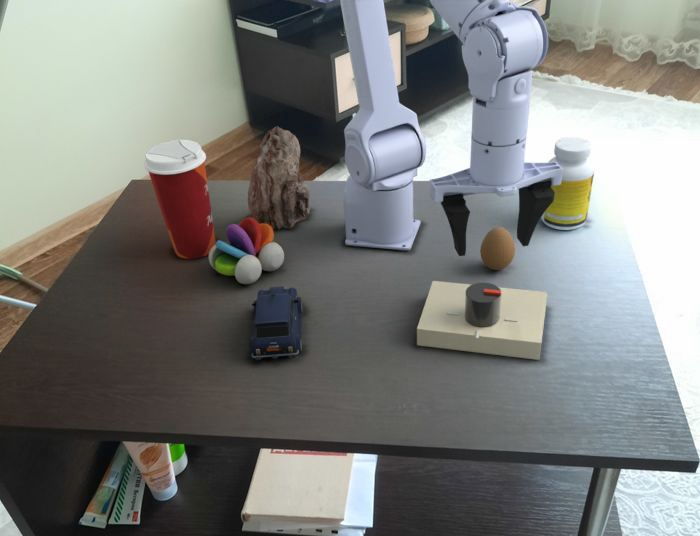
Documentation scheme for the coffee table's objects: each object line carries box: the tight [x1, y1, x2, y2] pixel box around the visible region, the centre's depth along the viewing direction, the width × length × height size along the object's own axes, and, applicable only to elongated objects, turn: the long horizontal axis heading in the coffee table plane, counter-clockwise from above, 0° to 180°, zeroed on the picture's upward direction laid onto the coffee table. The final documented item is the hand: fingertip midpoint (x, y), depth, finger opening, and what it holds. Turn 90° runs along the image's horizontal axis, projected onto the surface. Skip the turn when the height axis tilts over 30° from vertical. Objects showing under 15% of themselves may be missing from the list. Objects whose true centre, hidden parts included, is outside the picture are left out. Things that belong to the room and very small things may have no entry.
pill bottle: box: [540, 136, 595, 231], centre depth 102 cm, size 6×6×12 cm
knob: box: [465, 282, 501, 327], centre depth 84 cm, size 4×4×4 cm
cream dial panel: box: [416, 280, 548, 361], centre depth 86 cm, size 14×11×3 cm
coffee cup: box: [143, 139, 217, 260], centre depth 101 cm, size 8×8×15 cm
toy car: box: [248, 286, 303, 361], centre depth 87 cm, size 6×12×6 cm, turn 2°
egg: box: [479, 226, 516, 271], centre depth 95 cm, size 4×4×6 cm
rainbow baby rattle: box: [208, 216, 285, 285], centre depth 98 cm, size 8×10×7 cm
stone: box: [247, 125, 311, 230], centre depth 106 cm, size 15×8×10 cm
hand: (491, 246), depth 85 cm, fingers open, 7 cm apart
